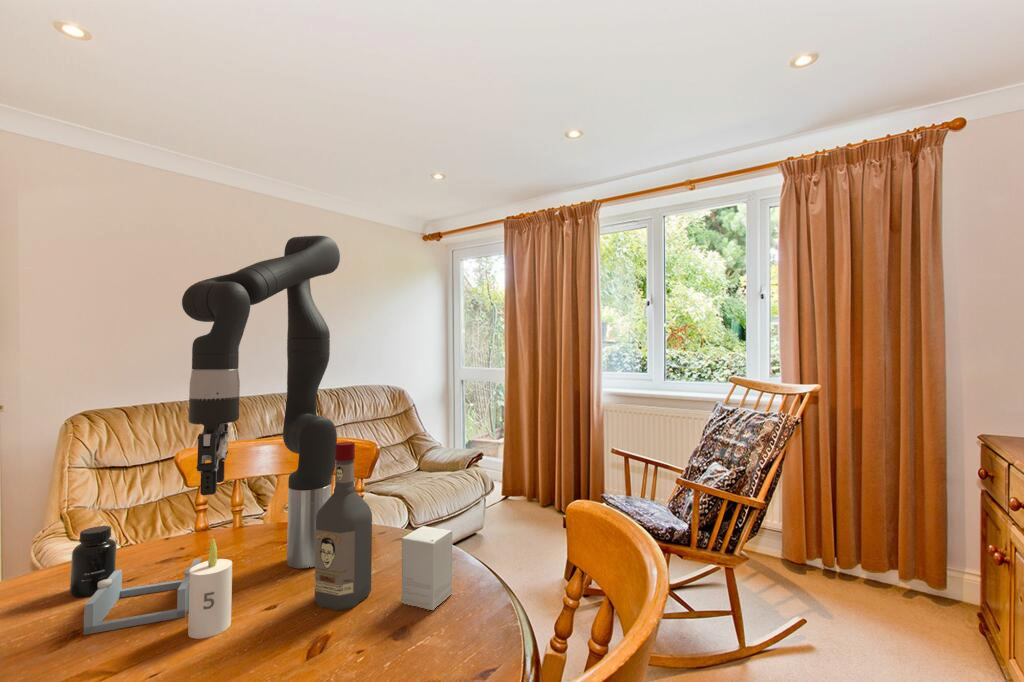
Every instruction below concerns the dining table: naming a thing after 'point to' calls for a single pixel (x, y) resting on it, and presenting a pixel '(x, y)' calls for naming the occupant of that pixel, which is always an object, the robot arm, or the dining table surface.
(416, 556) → the supplement box
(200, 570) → the candle
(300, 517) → the robot arm
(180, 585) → the holder
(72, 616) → the dining table surface
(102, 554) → the supplement bottle
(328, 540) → the liquor
